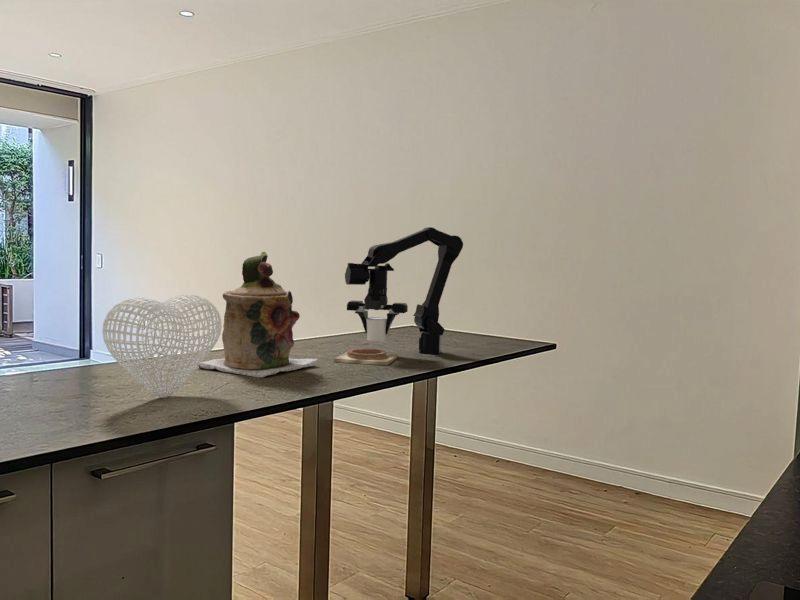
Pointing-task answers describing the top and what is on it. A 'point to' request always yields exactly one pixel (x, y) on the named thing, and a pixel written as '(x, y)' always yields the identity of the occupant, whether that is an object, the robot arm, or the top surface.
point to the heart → (162, 339)
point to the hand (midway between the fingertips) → (376, 333)
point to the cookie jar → (258, 325)
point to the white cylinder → (376, 329)
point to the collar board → (366, 357)
